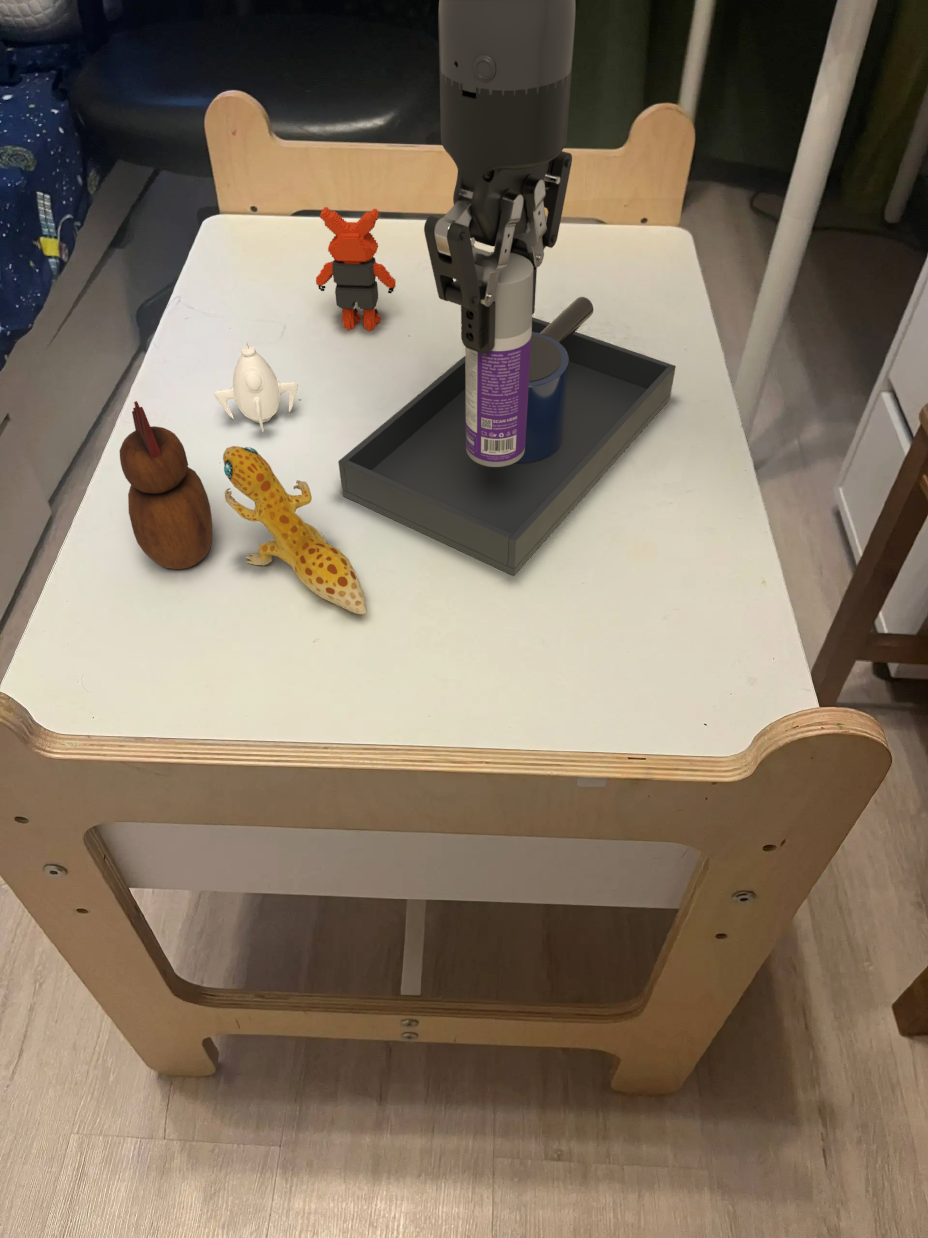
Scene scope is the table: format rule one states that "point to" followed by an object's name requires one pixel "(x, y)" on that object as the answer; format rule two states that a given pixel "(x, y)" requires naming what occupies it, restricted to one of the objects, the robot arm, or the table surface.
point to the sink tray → (514, 494)
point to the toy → (290, 530)
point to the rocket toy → (255, 388)
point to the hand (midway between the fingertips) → (498, 330)
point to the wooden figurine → (165, 496)
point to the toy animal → (354, 268)
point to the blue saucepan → (550, 382)
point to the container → (502, 372)
